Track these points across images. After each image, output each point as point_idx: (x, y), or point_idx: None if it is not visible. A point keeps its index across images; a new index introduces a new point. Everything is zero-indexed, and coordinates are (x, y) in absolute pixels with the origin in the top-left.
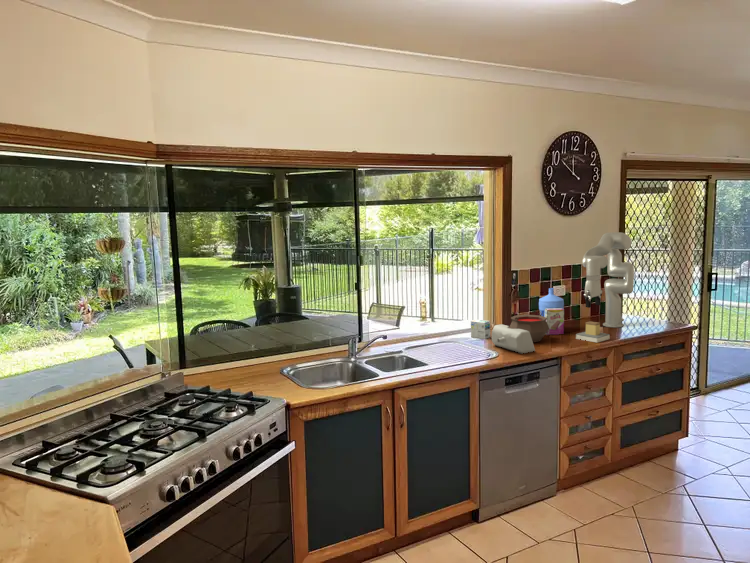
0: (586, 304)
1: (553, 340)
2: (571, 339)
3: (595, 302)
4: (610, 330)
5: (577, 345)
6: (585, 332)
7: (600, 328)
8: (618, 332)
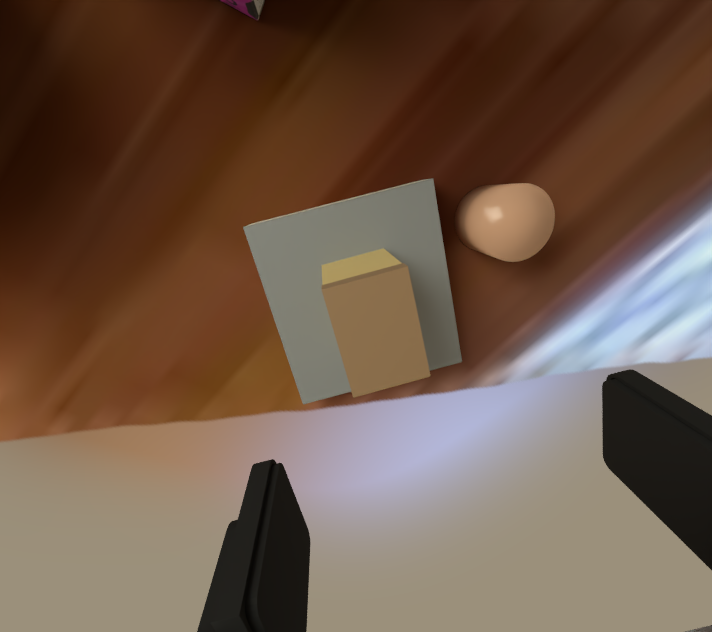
0: (224, 553)
1: (33, 171)
2: (204, 223)
3: (641, 410)
4: (695, 131)
5: (133, 387)
6: (355, 224)
7: (500, 259)
8: (668, 222)
